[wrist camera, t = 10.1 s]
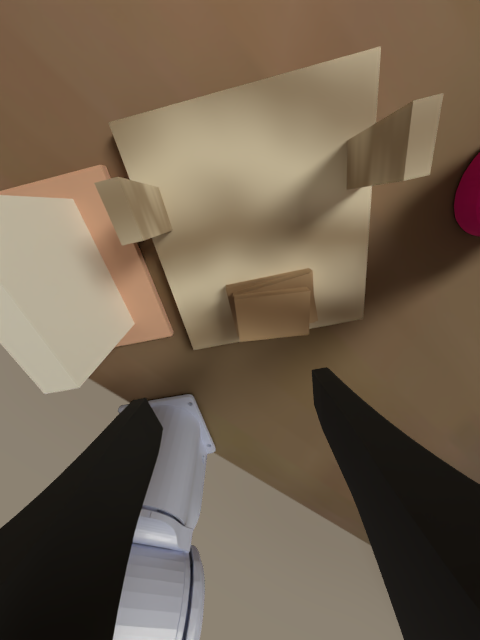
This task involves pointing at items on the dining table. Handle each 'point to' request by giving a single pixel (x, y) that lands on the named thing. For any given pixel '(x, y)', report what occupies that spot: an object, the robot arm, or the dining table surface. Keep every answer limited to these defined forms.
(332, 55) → the dining table surface
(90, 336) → the white upright panel
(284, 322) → the offcut stack
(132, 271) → the mat
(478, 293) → the dining table surface
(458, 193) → the pepper mill
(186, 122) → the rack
